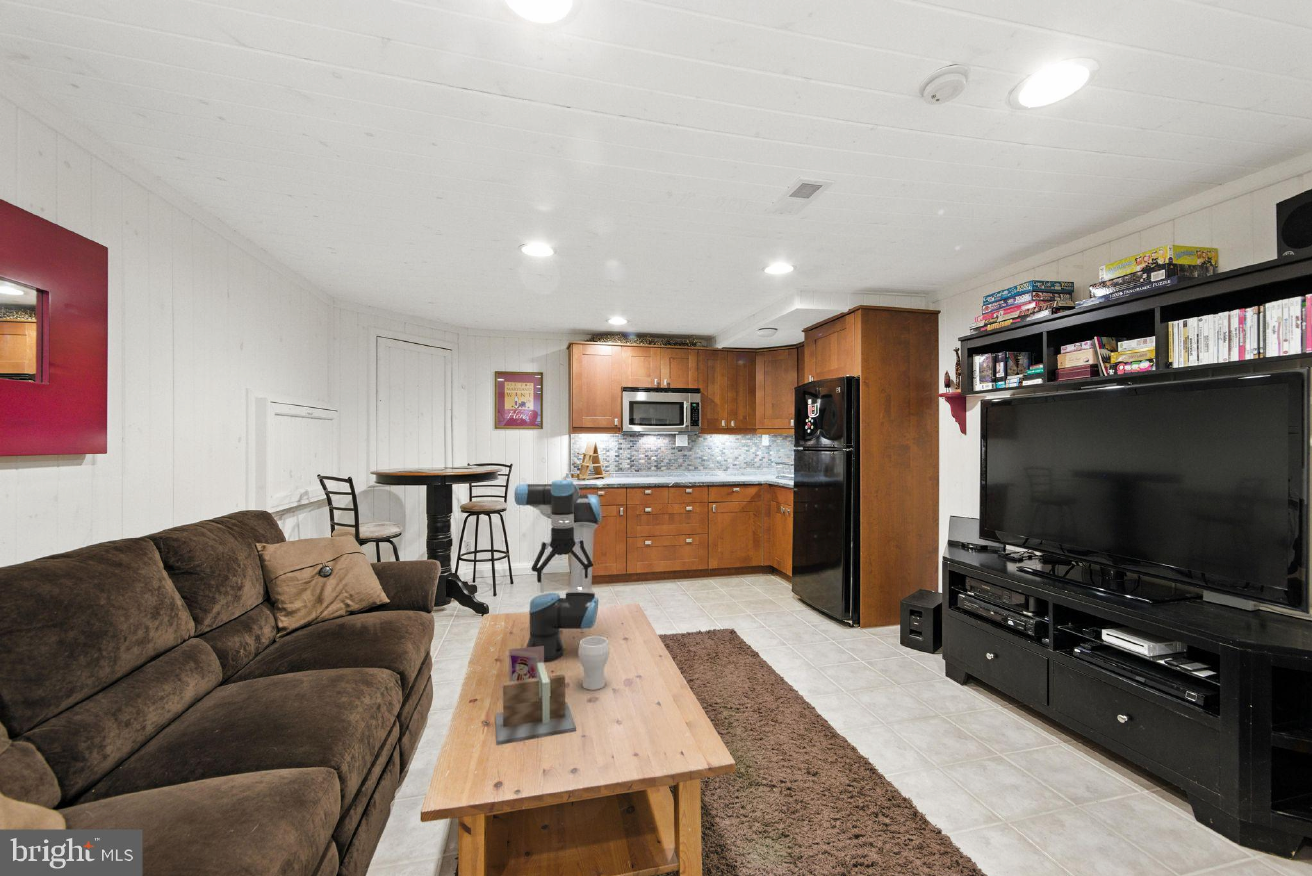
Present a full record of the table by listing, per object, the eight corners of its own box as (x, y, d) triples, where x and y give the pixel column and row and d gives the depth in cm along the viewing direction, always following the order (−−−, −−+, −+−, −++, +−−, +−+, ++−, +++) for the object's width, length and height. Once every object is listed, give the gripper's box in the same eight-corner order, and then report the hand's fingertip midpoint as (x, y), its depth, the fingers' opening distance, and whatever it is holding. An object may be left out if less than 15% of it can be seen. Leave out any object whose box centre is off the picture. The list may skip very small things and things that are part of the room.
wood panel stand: (497, 744, 146) (497, 697, 146) (495, 716, 161) (495, 673, 161) (576, 730, 153) (575, 685, 153) (567, 704, 168) (567, 664, 168)
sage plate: (537, 700, 169) (537, 663, 169) (543, 699, 170) (543, 662, 170) (542, 724, 155) (542, 683, 155) (549, 722, 156) (549, 682, 156)
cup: (604, 693, 176) (603, 648, 176) (573, 690, 178) (573, 646, 178) (613, 679, 186) (612, 636, 187) (584, 677, 189) (584, 634, 189)
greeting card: (507, 695, 175) (507, 650, 175) (520, 686, 182) (520, 642, 182) (537, 701, 171) (537, 655, 171) (549, 691, 178) (549, 646, 178)
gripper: (525, 530, 169) (525, 596, 169) (601, 526, 177) (601, 589, 177) (523, 526, 176) (523, 590, 176) (596, 522, 184) (597, 583, 184)
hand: (562, 590), depth 176 cm, fingers open, 13 cm apart
